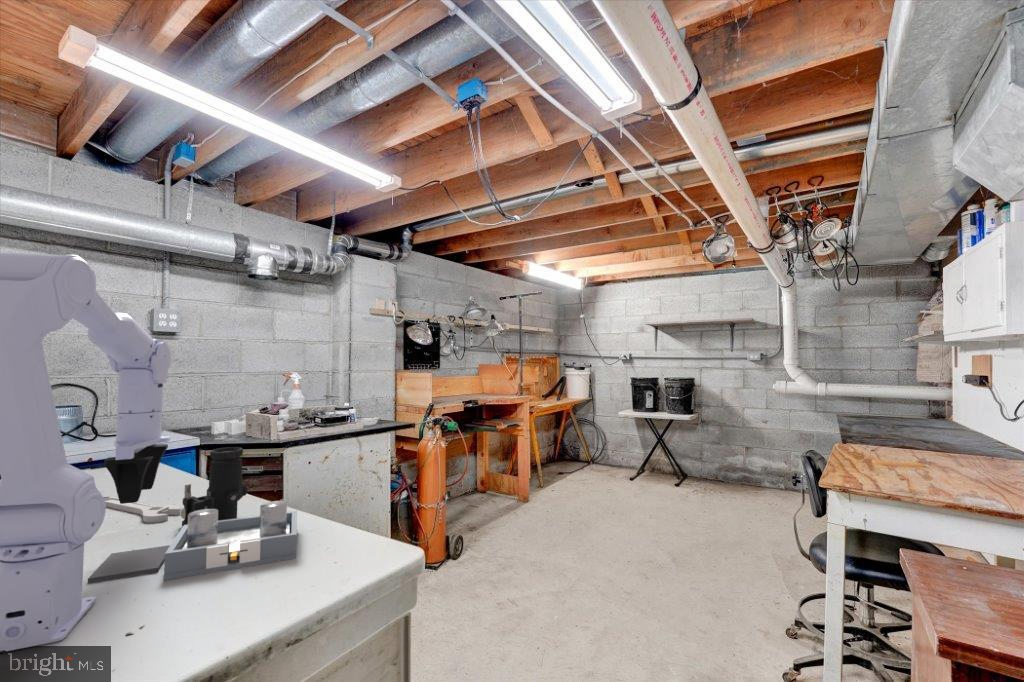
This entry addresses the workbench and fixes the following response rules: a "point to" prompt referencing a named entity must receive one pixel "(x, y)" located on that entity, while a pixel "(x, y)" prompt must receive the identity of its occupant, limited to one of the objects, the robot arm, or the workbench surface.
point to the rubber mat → (130, 563)
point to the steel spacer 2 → (273, 518)
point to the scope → (219, 486)
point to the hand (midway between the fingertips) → (137, 495)
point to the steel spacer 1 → (202, 528)
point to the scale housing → (218, 555)
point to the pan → (239, 538)
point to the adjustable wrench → (144, 509)
